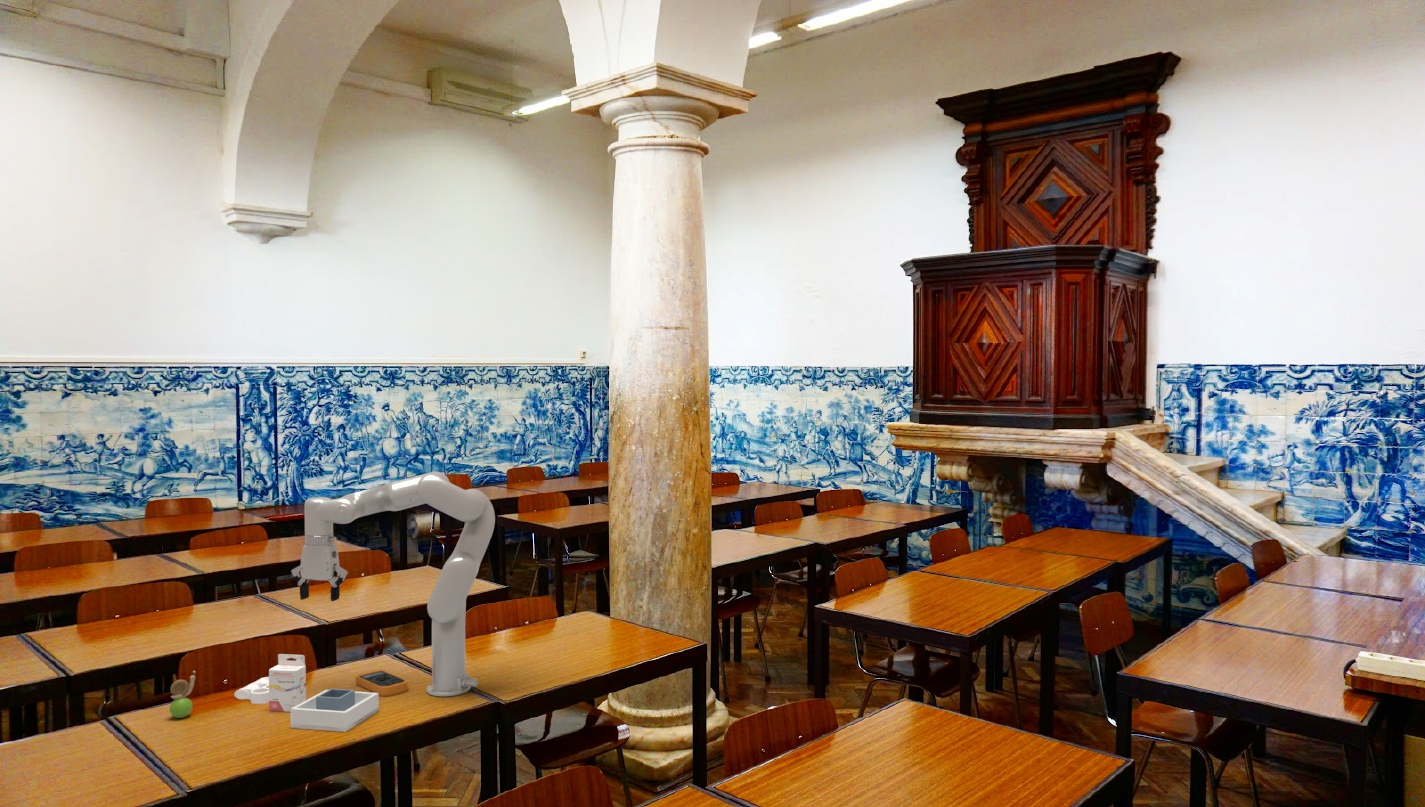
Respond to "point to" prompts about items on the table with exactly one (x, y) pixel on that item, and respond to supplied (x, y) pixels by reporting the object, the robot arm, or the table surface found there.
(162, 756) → the table surface
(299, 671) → the ink cartridge box
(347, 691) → the small crate
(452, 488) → the robot arm
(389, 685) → the multimeter
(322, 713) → the big crate
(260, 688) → the white brass knuckles
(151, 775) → the table surface
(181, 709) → the snail figurine
